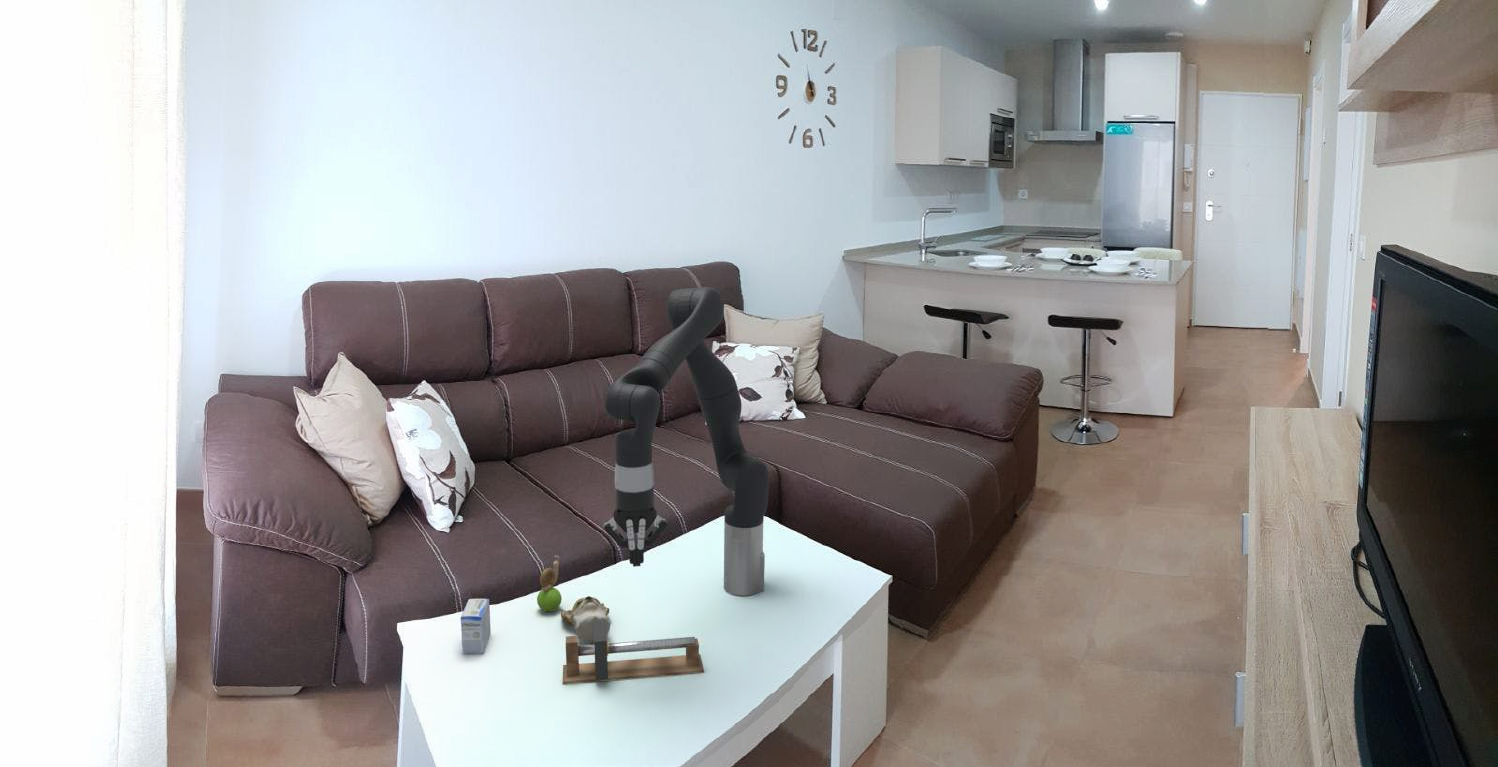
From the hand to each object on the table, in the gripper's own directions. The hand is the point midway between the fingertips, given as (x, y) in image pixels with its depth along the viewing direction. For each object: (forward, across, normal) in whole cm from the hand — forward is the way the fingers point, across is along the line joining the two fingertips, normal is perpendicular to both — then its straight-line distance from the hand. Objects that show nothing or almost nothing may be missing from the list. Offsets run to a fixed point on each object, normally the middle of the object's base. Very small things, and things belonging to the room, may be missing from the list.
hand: (636, 564), depth 188 cm
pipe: (+18, +1, +3) cm, 18 cm away
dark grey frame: (+20, +8, +3) cm, 22 cm away
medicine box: (+22, +33, -12) cm, 41 cm away
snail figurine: (+22, +18, -25) cm, 38 cm away
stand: (+22, +1, +3) cm, 22 cm away
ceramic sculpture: (+22, +10, -14) cm, 28 cm away
